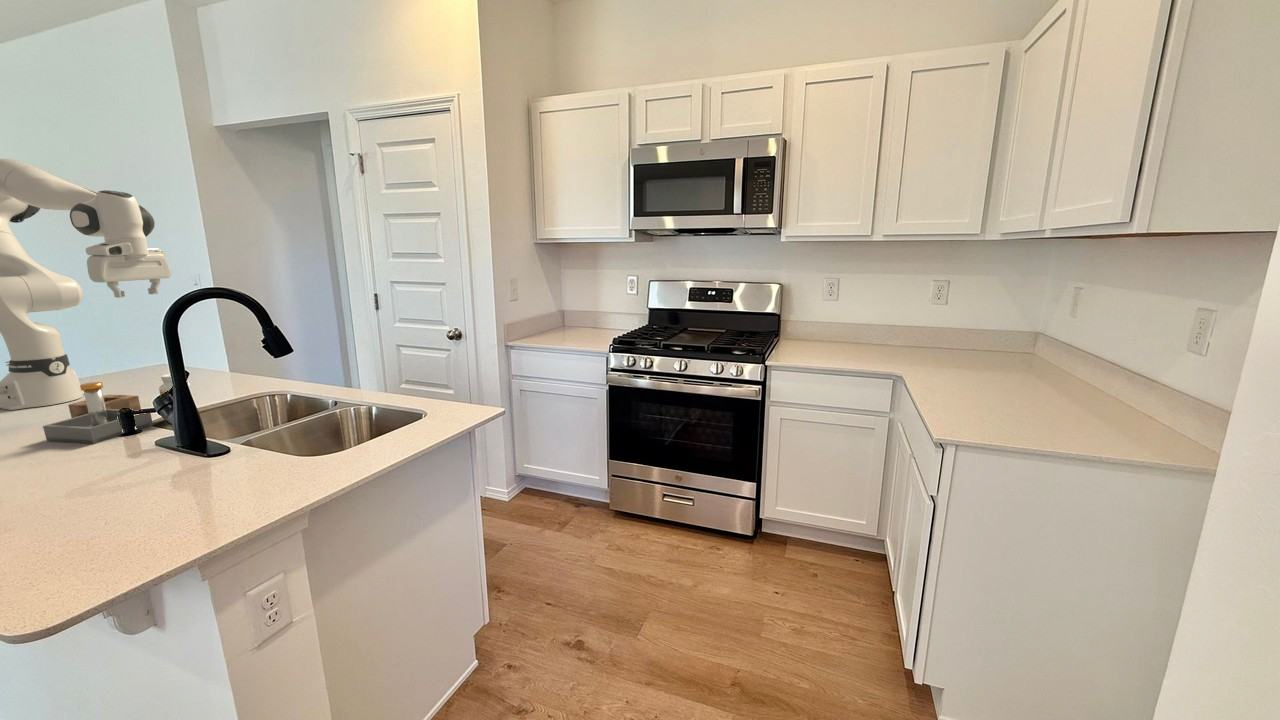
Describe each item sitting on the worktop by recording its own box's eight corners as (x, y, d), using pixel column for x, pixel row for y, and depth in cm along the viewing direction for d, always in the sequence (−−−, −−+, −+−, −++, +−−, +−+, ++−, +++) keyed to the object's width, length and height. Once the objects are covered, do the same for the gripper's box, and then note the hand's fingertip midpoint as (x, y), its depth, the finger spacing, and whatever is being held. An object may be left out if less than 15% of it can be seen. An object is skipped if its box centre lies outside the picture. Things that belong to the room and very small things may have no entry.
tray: (46, 441, 130) (42, 425, 129) (109, 422, 144) (106, 408, 143) (93, 444, 128) (89, 428, 127) (153, 424, 142) (150, 411, 141)
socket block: (72, 421, 144) (68, 404, 143) (112, 410, 154) (109, 394, 153) (102, 423, 143) (98, 406, 142) (141, 412, 152) (138, 395, 151)
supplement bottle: (170, 416, 149) (161, 373, 146) (199, 413, 151) (191, 370, 149) (161, 423, 143) (152, 378, 140) (191, 420, 145) (183, 376, 143)
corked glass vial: (88, 432, 133) (78, 386, 130) (92, 428, 136) (82, 383, 133) (110, 429, 135) (100, 384, 133) (113, 425, 138) (103, 381, 136)
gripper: (154, 247, 162) (163, 292, 165) (78, 248, 142) (89, 298, 146) (172, 248, 162) (180, 292, 165) (98, 249, 142) (108, 299, 145)
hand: (137, 295), depth 155 cm, fingers open, 8 cm apart
